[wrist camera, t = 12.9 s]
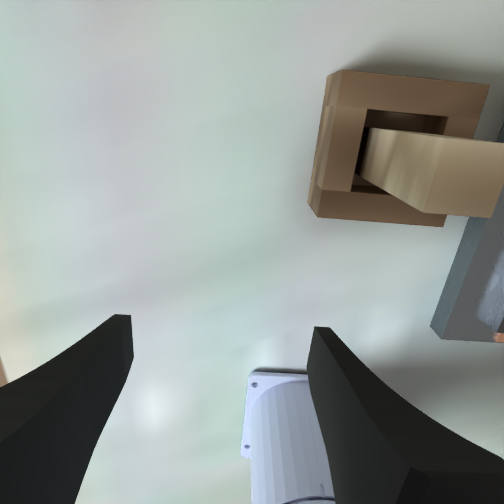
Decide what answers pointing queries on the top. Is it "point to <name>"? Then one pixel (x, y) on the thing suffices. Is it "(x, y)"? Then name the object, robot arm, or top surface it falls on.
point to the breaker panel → (476, 282)
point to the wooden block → (433, 170)
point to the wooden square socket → (386, 117)
